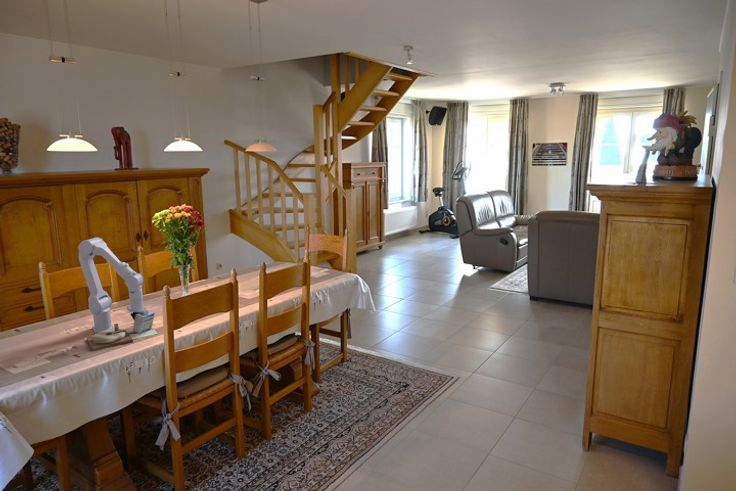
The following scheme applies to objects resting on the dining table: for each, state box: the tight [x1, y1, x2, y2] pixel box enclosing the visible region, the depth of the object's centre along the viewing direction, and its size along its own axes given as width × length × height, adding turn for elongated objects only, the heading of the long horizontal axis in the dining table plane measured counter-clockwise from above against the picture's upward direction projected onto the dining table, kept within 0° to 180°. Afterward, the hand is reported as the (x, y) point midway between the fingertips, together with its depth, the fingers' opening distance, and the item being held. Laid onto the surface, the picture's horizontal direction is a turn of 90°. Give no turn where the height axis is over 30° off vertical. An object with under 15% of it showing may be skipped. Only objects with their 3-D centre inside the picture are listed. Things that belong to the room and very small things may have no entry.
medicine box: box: [132, 309, 156, 334], centre depth 232 cm, size 8×4×9 cm, turn 165°
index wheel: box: [92, 323, 125, 343], centre depth 220 cm, size 13×13×5 cm
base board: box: [86, 329, 134, 352], centre depth 221 cm, size 16×16×1 cm
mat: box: [129, 329, 158, 340], centre depth 229 cm, size 7×11×1 cm, turn 127°
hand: (139, 326), depth 235 cm, fingers closed, pressing on medicine box
